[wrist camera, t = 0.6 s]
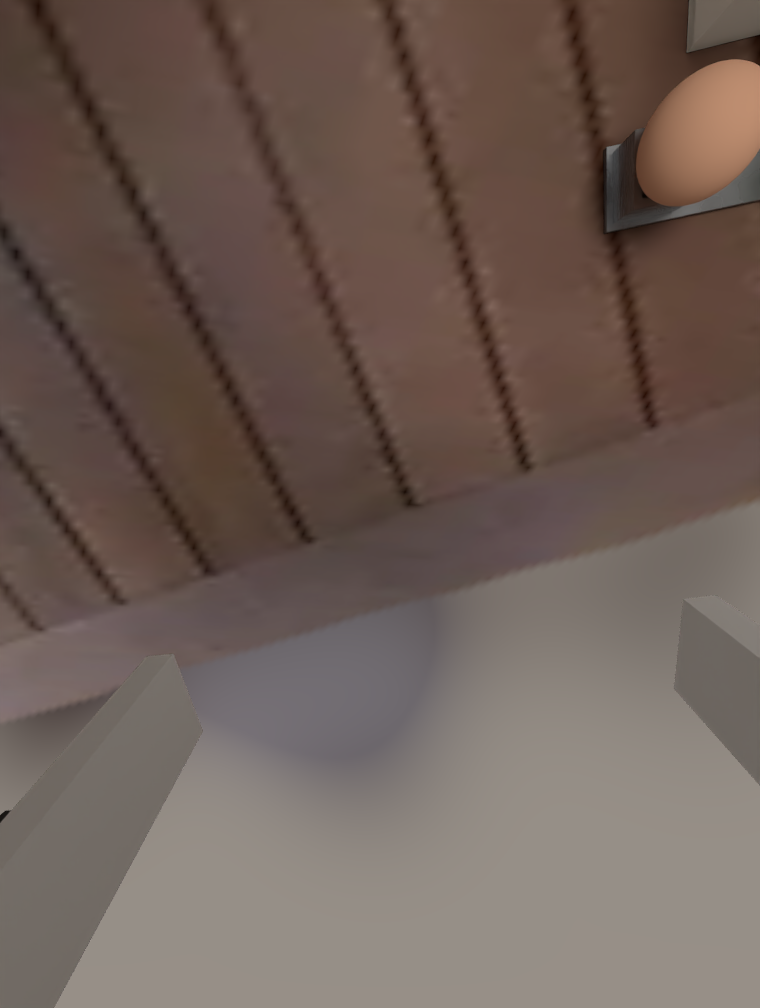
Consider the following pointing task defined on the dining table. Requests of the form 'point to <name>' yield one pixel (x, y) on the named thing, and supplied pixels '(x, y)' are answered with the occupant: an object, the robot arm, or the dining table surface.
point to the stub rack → (637, 209)
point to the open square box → (721, 22)
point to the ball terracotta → (701, 134)
